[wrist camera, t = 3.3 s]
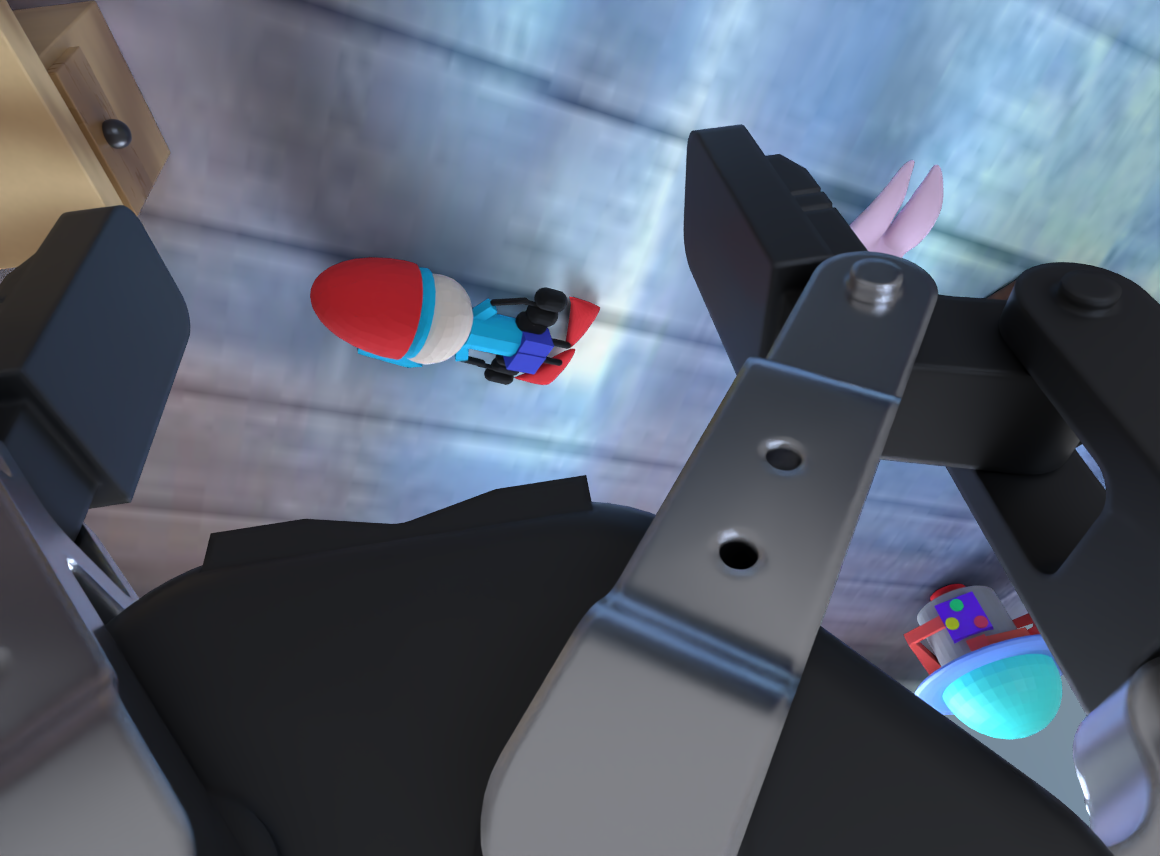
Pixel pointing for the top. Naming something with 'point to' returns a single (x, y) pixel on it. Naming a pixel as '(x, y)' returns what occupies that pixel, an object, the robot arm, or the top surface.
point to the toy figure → (443, 320)
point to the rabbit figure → (901, 213)
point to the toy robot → (985, 664)
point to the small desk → (67, 124)
